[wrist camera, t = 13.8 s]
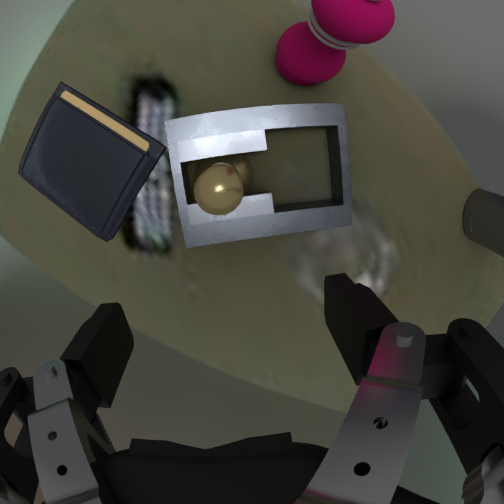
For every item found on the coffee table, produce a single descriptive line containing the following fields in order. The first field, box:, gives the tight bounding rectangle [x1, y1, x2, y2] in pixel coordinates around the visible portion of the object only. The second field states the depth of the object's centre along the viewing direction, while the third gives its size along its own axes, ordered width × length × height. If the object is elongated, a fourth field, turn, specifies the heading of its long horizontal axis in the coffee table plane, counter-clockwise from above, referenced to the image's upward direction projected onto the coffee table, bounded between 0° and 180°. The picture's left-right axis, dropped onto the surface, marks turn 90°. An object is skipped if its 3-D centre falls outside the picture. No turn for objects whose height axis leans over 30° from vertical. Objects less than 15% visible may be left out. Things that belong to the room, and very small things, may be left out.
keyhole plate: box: [165, 103, 352, 248], centre depth 30 cm, size 19×14×4 cm
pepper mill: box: [276, 0, 395, 86], centre depth 18 cm, size 7×7×20 cm
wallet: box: [18, 82, 167, 242], centre depth 29 cm, size 20×2×15 cm
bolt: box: [194, 153, 252, 216], centre depth 25 cm, size 6×6×14 cm
